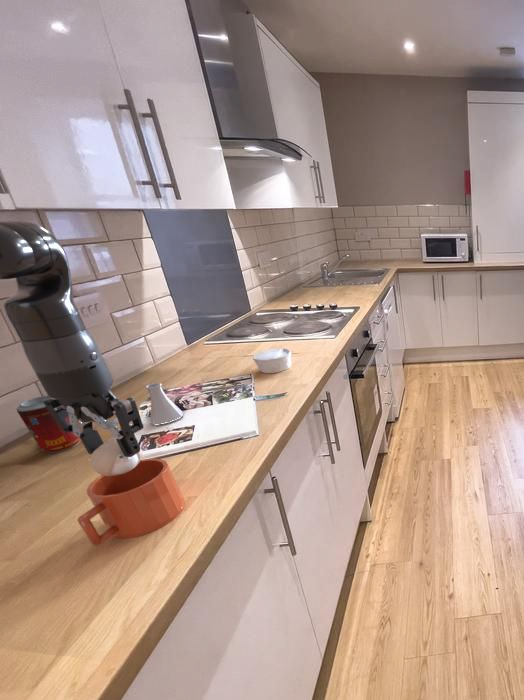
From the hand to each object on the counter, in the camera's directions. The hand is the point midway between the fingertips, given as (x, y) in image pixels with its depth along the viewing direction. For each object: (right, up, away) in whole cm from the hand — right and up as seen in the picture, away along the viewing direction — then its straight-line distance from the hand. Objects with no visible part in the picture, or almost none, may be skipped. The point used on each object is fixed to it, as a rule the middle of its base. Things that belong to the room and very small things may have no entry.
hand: (115, 452), depth 69 cm
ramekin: (-13, +17, +69) cm, 73 cm away
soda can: (-39, -3, +28) cm, 48 cm away
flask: (-24, +2, +39) cm, 46 cm away
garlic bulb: (0, -4, +2) cm, 4 cm away
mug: (0, -14, +4) cm, 14 cm away
